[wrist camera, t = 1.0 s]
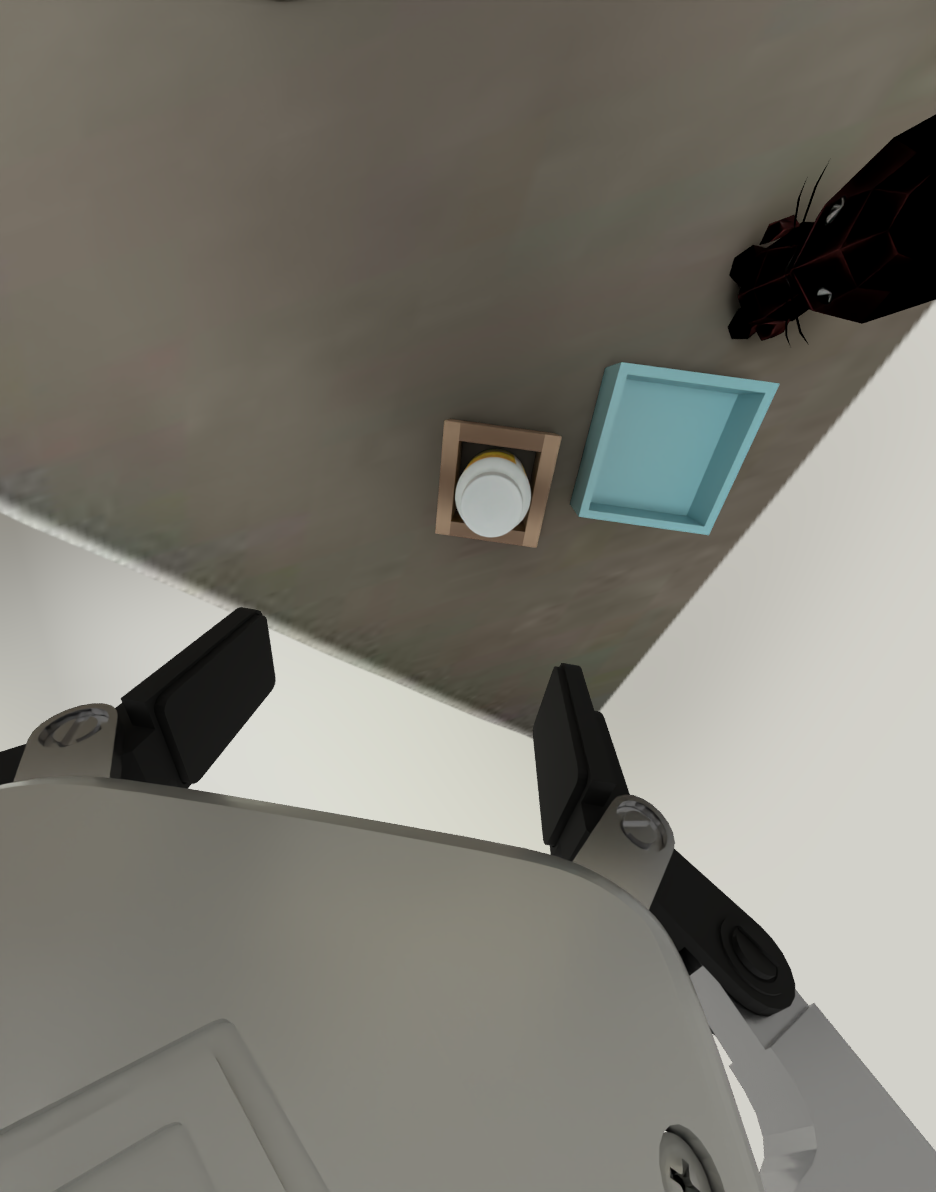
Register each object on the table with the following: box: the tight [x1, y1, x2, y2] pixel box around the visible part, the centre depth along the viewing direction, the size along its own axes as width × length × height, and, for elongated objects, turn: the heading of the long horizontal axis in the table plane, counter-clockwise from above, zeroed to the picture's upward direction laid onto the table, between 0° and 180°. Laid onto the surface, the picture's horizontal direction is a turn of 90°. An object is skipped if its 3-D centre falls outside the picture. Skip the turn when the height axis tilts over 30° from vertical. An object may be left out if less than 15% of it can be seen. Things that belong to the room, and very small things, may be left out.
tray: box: [570, 362, 779, 535], centre depth 27 cm, size 10×10×4 cm
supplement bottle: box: [455, 449, 531, 537], centre depth 27 cm, size 5×5×10 cm
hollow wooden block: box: [435, 419, 562, 548], centre depth 29 cm, size 9×9×4 cm
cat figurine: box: [728, 115, 936, 348], centre depth 18 cm, size 7×7×12 cm
